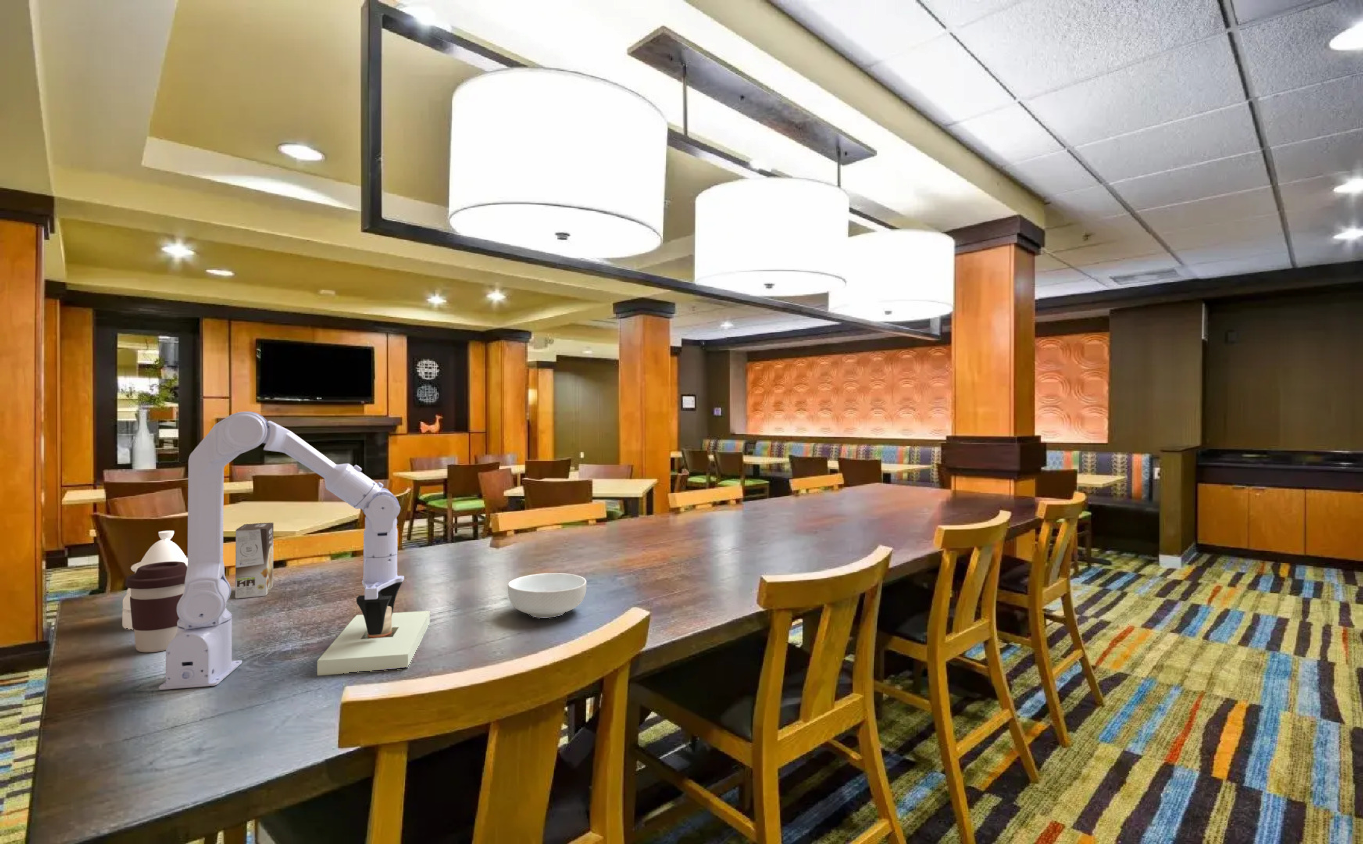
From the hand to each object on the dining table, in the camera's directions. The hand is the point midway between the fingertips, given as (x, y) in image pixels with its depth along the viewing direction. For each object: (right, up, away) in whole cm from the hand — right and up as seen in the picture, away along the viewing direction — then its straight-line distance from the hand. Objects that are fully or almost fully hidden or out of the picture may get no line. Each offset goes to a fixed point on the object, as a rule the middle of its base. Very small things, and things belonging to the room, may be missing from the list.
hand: (380, 627), depth 118 cm
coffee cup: (-40, -3, -1) cm, 40 cm away
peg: (0, -4, 0) cm, 4 cm away
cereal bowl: (+27, -4, +21) cm, 34 cm away
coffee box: (-46, -3, +33) cm, 57 cm away
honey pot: (-52, -3, +13) cm, 53 cm away
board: (0, -4, 0) cm, 4 cm away
